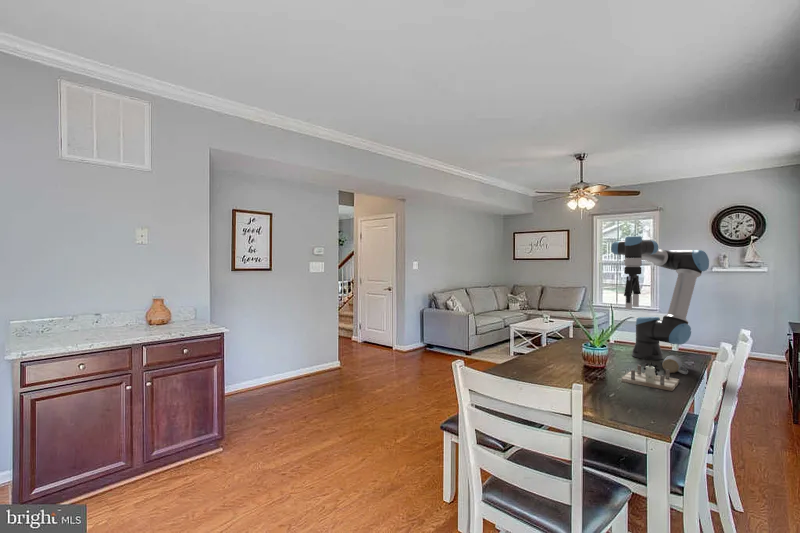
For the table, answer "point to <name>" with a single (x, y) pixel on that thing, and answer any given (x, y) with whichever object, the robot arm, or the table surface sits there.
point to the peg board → (659, 382)
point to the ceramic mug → (673, 364)
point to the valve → (651, 372)
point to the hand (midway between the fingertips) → (632, 308)
